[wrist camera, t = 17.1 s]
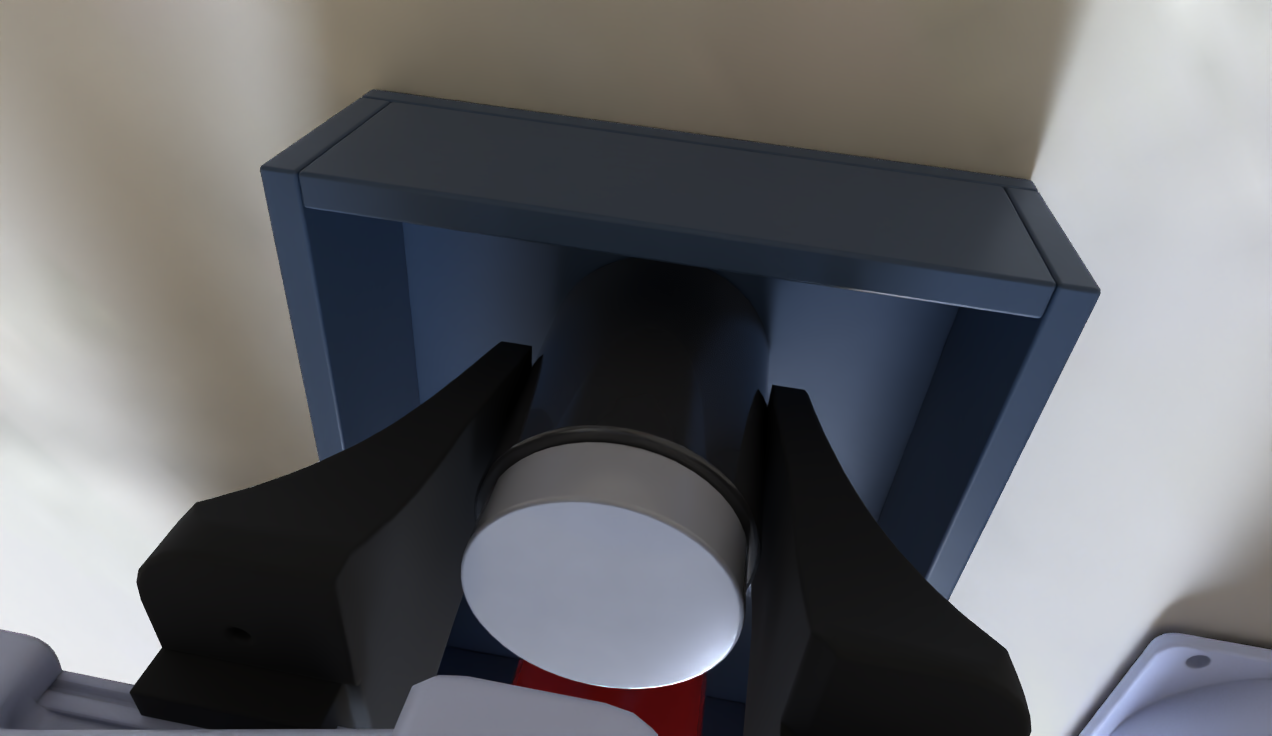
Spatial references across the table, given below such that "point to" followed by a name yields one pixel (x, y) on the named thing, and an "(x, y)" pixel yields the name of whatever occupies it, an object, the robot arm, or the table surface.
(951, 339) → the bin
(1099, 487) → the table surface
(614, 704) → the salt shaker
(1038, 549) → the table surface
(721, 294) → the pepper shaker
